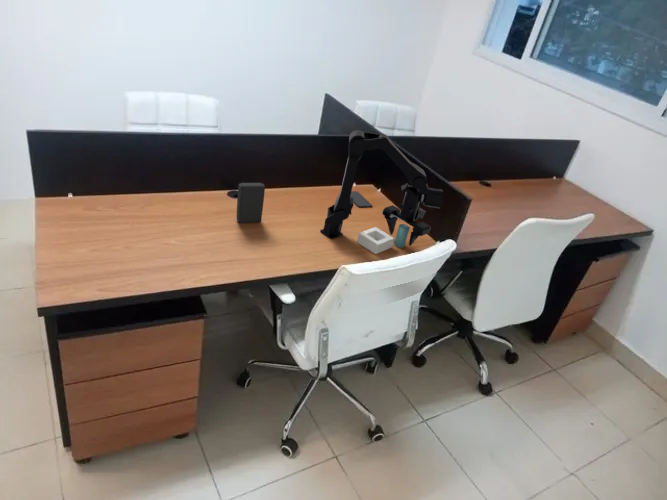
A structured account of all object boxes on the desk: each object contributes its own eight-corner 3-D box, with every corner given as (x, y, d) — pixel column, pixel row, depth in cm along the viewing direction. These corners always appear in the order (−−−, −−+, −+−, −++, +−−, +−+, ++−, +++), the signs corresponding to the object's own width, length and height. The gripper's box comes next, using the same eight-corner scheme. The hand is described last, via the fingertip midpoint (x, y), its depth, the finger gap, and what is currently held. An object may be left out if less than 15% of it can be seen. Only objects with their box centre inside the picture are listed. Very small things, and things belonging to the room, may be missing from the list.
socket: (375, 254, 173) (377, 244, 171) (356, 242, 178) (358, 232, 176) (391, 247, 179) (394, 238, 177) (373, 235, 184) (375, 226, 182)
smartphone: (357, 191, 217) (373, 205, 206) (357, 192, 218) (372, 207, 206) (343, 191, 214) (358, 206, 203) (342, 193, 214) (358, 208, 203)
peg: (400, 248, 179) (405, 230, 175) (392, 243, 182) (397, 225, 177) (406, 246, 182) (411, 227, 178) (398, 241, 184) (403, 223, 180)
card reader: (259, 217, 181) (263, 181, 173) (262, 223, 178) (266, 186, 170) (235, 218, 177) (238, 181, 170) (237, 224, 174) (240, 186, 167)
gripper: (444, 209, 173) (432, 245, 181) (404, 188, 183) (395, 224, 191) (426, 216, 165) (415, 253, 174) (386, 193, 176) (377, 230, 184)
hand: (400, 239), depth 181 cm, fingers open, 9 cm apart
